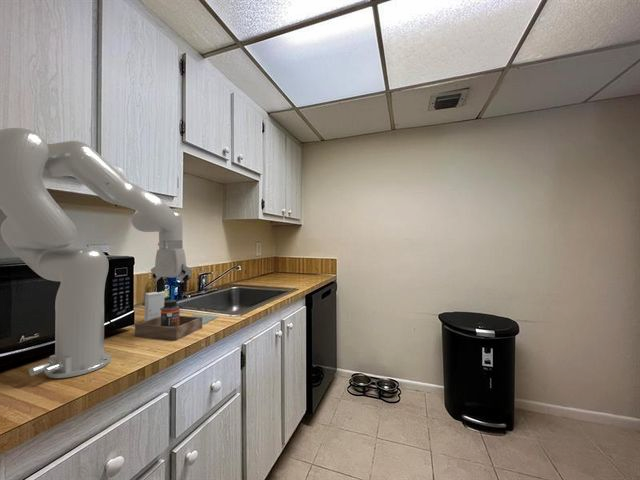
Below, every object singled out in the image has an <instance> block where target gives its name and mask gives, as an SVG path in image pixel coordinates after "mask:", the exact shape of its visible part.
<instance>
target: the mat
mask: <svg viewBox="0 0 640 480" xmlns="http://www.w3.org/2000/svg"><path fill="white" fill-rule="evenodd" d="M190 317H202V326H203V325H206V324H207V323H210V322H211V321H214V320H216V319H219V316H215V315H203V314H201V315H200V314H192V315H190Z"/></svg>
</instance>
